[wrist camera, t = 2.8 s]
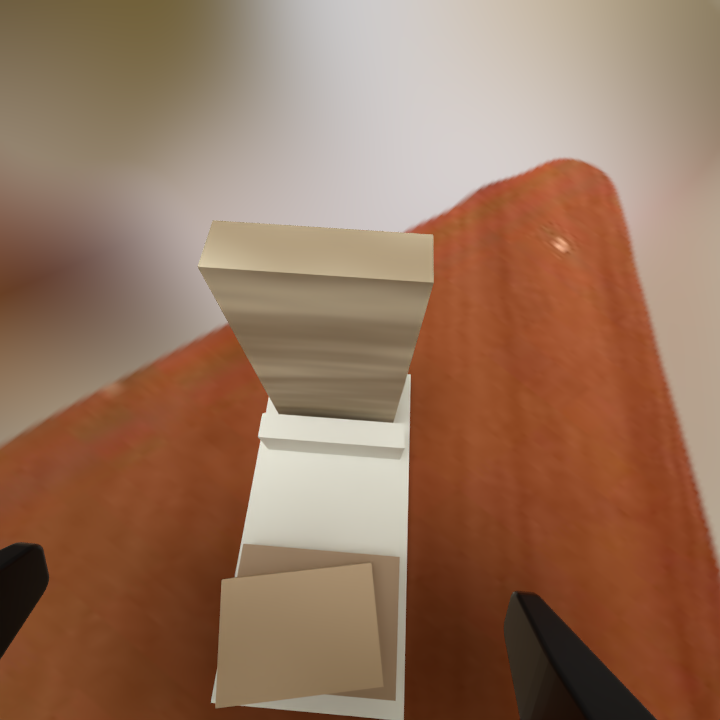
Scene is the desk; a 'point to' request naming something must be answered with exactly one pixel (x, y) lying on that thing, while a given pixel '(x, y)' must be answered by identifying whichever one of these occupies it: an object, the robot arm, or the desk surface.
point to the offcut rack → (321, 570)
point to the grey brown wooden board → (323, 312)
